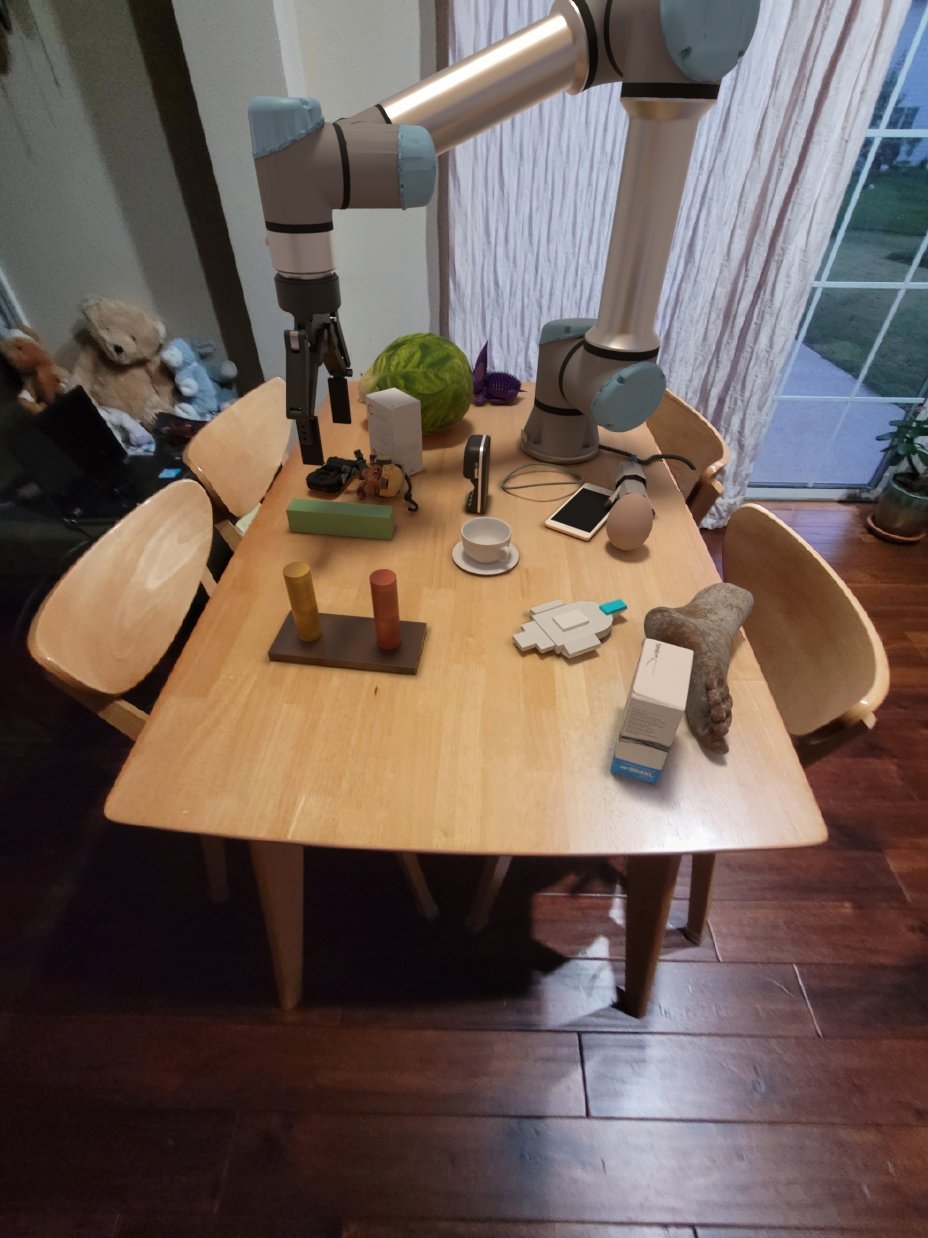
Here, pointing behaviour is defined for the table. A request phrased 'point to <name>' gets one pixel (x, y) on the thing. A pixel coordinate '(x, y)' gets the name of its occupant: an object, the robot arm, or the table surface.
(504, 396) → the creature
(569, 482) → the loop
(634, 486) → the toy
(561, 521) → the cell phone
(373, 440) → the small box
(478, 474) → the battery charger
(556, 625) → the toy rocket
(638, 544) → the egg
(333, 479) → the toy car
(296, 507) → the bar
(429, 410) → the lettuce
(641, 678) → the ink box
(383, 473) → the toy
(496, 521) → the teacup
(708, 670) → the sculpture
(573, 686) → the table surface
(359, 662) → the rods
